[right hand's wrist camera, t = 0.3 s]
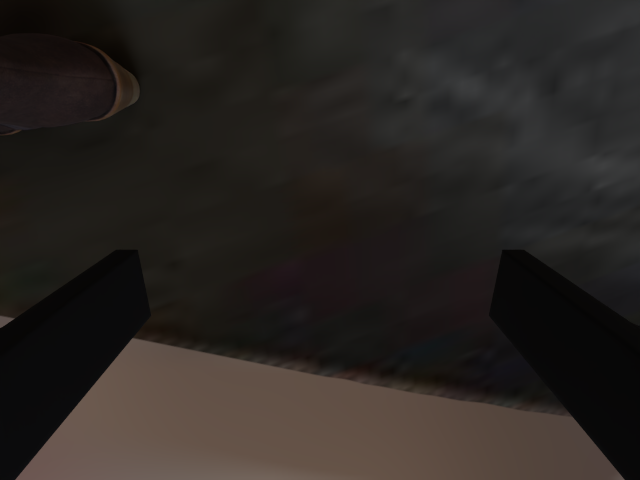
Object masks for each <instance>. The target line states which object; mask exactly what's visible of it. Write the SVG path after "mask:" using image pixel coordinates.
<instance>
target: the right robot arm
mask: <svg viewBox="0 0 640 480" xmlns="http://www.w3.org/2000/svg"><path fill="white" fill-rule="evenodd" d="M150 316H151V313H150V308H149V303H148V298H147V293H146V289H145V284H144V279H143V274H142V269H141V264H140V260H139V255H138V250H115V251H114V252H112V253H111V254H109V255H108V256H106V257H105V258H103V259H102V260H101V261H99V262H98V263H96V264H95V265H93V266H92V267H90V268H89V269H87V270H86V271H84V272H83V273H81V274H80V275H78V276H77V277H75V278H74V279H73V280H71V281H70V282H68V283H67V284H65V285H64V286H62V287H61V288H59V289H58V290H56V291H55V292H53V293H52V294H50V295H49V296H48V297H46V298H45V299H43V300H42V301H40V302H39V303H37V304H36V305H34V306H33V307H31V308H30V309H28V310H27V311H25V312H24V313H23V314H21V315H20V316H18V317H17V318H15V319H14V320H12V321H11V322H9V323H8V324H6V325H5V326H3V327H2V328H0V480H15V479H16V478H17V477H18V476H19V474H20V473H21V472H22V471H23V470H24V468H25V467H26V466H27V465H28V464H29V462H30V461H31V460H32V459H33V458H34V456H35V455H36V454H37V453H38V451H39V450H40V449H41V448H42V447H43V445H44V444H45V443H46V442H47V441H48V439H49V438H50V437H51V436H52V434H53V433H54V432H55V431H56V430H57V429H58V427H59V426H60V425H61V424H62V422H63V421H64V420H65V419H66V418H67V416H68V415H69V414H70V413H71V412H72V410H73V409H74V408H75V407H76V406H77V404H78V403H79V402H80V401H81V399H82V398H83V397H84V396H85V395H86V393H87V392H88V391H89V390H90V389H91V387H92V386H93V385H94V384H95V383H96V381H97V380H98V379H99V378H100V376H101V375H102V374H103V373H104V372H105V370H106V369H107V368H108V367H109V366H110V364H111V363H112V362H113V361H114V360H115V358H116V357H117V356H118V355H119V354H120V352H121V351H122V350H123V349H124V348H125V346H126V345H127V344H128V343H129V342H130V340H131V339H132V338H133V337H134V335H135V334H136V333H137V332H138V331H139V329H140V328H141V327H142V326H143V325H144V323H145V322H146V321H147V320H148V319H149V317H150ZM489 316H490V317H491V319H492V320H493V321H494V322H495V323H496V325H497V326H498V327H499V328H500V329H501V331H502V332H503V333H504V334H505V335H506V337H507V338H508V339H509V340H510V342H511V343H512V344H513V345H514V346H515V348H516V349H517V350H518V351H519V352H520V354H521V355H522V356H523V357H524V358H525V360H526V361H527V362H528V363H529V364H530V366H531V367H532V368H533V369H534V371H535V372H536V373H537V374H538V375H539V377H540V378H541V379H542V380H543V381H544V383H545V384H546V385H547V386H548V387H549V389H550V390H551V391H552V392H553V393H554V395H555V396H556V397H557V398H558V400H559V401H560V402H561V403H562V404H563V406H564V407H565V408H566V409H567V410H568V412H569V413H570V414H571V415H572V416H573V418H574V419H575V420H576V421H577V422H578V424H579V425H580V426H581V427H582V428H583V430H584V431H585V432H586V433H587V435H588V436H589V437H590V438H591V439H592V441H593V442H594V443H595V444H596V445H597V447H598V448H599V449H600V450H601V451H602V453H603V454H604V455H605V456H606V457H607V459H608V460H609V461H610V462H611V464H612V465H613V466H614V467H615V468H616V470H617V471H618V472H619V473H620V474H621V476H622V477H623V478H624V479H625V480H640V326H637V325H635V324H633V323H631V322H629V321H628V320H626V319H625V318H623V317H622V316H620V315H619V314H617V313H616V312H615V311H613V310H612V309H610V308H609V307H607V306H606V305H604V304H603V303H601V302H600V301H598V300H597V299H595V298H594V297H592V296H591V295H590V294H588V293H587V292H585V291H584V290H582V289H581V288H579V287H578V286H576V285H575V284H573V283H572V282H570V281H569V280H567V279H566V278H565V277H563V276H562V275H560V274H559V273H557V272H556V271H554V270H553V269H551V268H550V267H548V266H547V265H545V264H544V263H542V262H541V261H539V260H538V259H537V258H535V257H534V256H532V255H531V254H529V253H528V252H526V251H525V250H502V255H501V260H500V264H499V269H498V274H497V279H496V284H495V289H494V293H493V298H492V303H491V308H490V313H489Z"/></svg>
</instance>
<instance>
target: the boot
mask: <svg viewBox="0 0 640 480" xmlns="http://www.w3.org/2000/svg"><path fill="white" fill-rule="evenodd" d="M139 93H140V89H139V84H138V82H137V80H136V78H135V77H134V76H133V75H132V74H131V73H130V72H128V71H127V70H126V69H124V68H123V67H122V66H121V65H119V64H118V63H116V62H115V61H113V60H112V59H111V58H110V57H109V56H108V55H107V54H105V53H104V52H103V51H101V50H100V49H98V48H96V47H94V46H91V45H88V44H85V43H81V42H77V41H71V40H69V39H66V38H63V37H59V36H55V35H49V34H41V33H15V34H9V35H4V36H0V135H9V134H13V133H17V132H19V131H21V130H32V129H38V128H41V127H59V126H65V125H71V124H76V123H80V122H83V121H99V120H103V119H106V118H108V117H110V116H112V115H113V114H115V113H117V112H119V111H120V110H122V109H124V108H125V107H128V106H130V105H131V104H134V103H135V102H136V101H137V100H138V98H139Z"/></svg>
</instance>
